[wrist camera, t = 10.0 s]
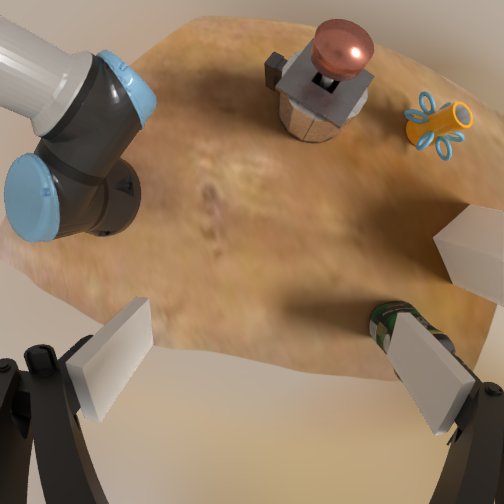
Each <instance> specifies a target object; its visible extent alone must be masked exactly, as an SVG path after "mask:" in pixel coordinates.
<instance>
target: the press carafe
mask: <svg viewBox="0 0 504 504" xmlns="http://www.w3.org/2000/svg"><path fill="white" fill-rule="evenodd" d="M313 41H314V38H313V39H312V40H311V41H310V43H309V44H308V45H307V46H306V48H305V49H304V50H302V51H299V52H296V53H295V54H293V55H292V57H291V58H290V59H289V60H286V59H284V56H282V55H280V54H278V53H276V52H273V53H272V54H271V56H270V57H269V58H268V59H267V61H266V62H265V63H264V65H265V81H266V87H268V88H269V89H271V90H273V91H275V90H276V91H278V92H280V104H279V117H280V120H281V123H282V125H283V126H284V128H285V129H286V131H287V132H288V133H289V134H290V135H292V136H293V137H294V138H296V139H298V140H300V141H303V142H307V143H321V142H325V141H327V140H329V139H331V138H333V137H334V136H336V135H337V134H338V133H339V132H340V131H341V130H342V129H343V128H344V127H345V126H346V125H347V124H348V123H349V122H350V121H351V120H352V119H353V118H354V117H355V116H357V115H358V113H359V111H360V110H361V108H362V107H363V105H364V104H365V102H366V101H367V99H368V94H367V87H368V86H369V84H370V83H371V81H372V79H373V78H374V76H373V75H372V74H371V73H369V72H368V71H366V70H365V69H363V70H362V71H361V73H360V74H359V75H358V76H357V77H356V78H354V79H352V80H349V81H336V80H333V82H332V84H331V86H330V87H329V89H328V91H326V90H324V89H323V88H321V87H320V86H318V85H319V83H320V81H321V78H322V76H323V75H322V74H321V73H320V72H318V70H317V69H316V68H315V67H314V65H313V64H312V61H311V56H310V53H311V49H312V45H313Z"/></svg>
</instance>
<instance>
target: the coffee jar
mask: <svg viewBox="0 0 504 504" xmlns="http://www.w3.org/2000/svg"><path fill="white" fill-rule="evenodd" d="M398 313H411V314H412V315H413V316H414V317H415V318H416V319H417V320H418V321H419V322H420V323H421V324H422V325H423V326H424V327H425V328H426V329H427V330H428V331H429V332H430V333H431V334H432V335H433V336H434V337H435V338H436V339H437V340H438V341H439V342H440V343H441V344H442V345H443V346H444V347H445V348H446V349H447V350H448V351H449V352H450V353H452V354H454V355H455V347H454V345H453V343H452V341H451V340H450V339H449V337H448V336H447V335H446V334H445V333H443V332H441V331H439V330H438V329H436V328H434V327H433V326H432V325H430V324H429V323H428V322H427V321H426V320H425V319H424V318H423V317H422V316H421V314H420V313H419V312H418V311H417V310H416V309H415V308H414V307H413V306H412V305H411V304H409V303H406V302H395V303H388V304H383V305H380V306H378V307H377V308H376V309H375V310H374V311H373V313H372V315H371V319H370V327H369V328H370V335H371V337H372V338H373V339H374V341H375V342H376V343H377V344H378V345H379V346H380V348H381V349H382V350H383V351H384V352H385V353H386V355H387V352H388V349H389V345H390V342H391V338H392V334H393V331H394V327H395V323H396V319H397V315H398ZM394 372H395V374H396V376H397V377H398V378H399V379H400V377H399V375H398V374H397V372H396V371H395V369H394ZM400 380H401V379H400ZM401 381H402V380H401Z"/></svg>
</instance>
